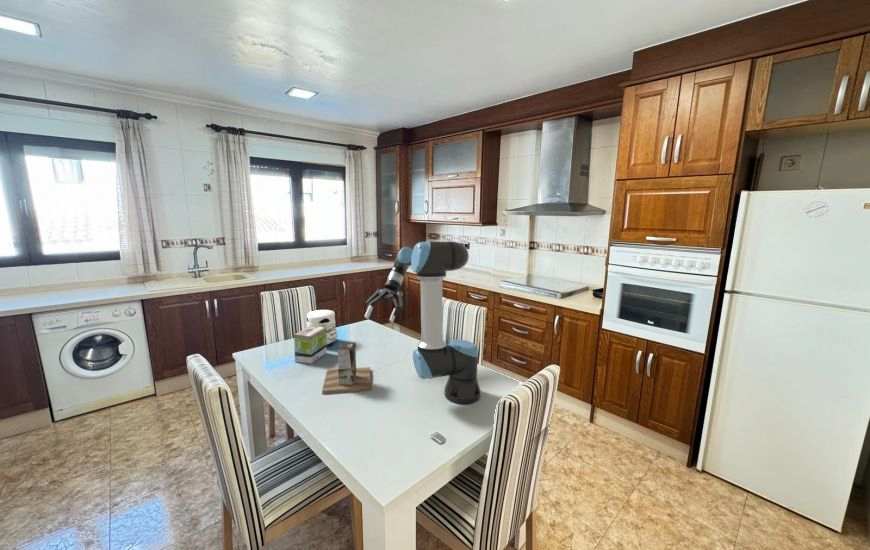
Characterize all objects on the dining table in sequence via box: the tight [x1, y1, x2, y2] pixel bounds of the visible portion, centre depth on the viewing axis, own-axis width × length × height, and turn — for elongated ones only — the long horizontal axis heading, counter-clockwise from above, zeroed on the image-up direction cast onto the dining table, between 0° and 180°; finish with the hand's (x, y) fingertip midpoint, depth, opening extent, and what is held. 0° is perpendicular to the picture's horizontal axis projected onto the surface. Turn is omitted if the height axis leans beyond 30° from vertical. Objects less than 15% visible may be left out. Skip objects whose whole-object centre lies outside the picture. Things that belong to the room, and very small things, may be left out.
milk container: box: [306, 309, 338, 347], centre depth 203 cm, size 17×17×18 cm
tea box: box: [293, 326, 328, 364], centre depth 183 cm, size 15×10×15 cm, turn 168°
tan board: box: [321, 366, 372, 395], centre depth 159 cm, size 20×20×2 cm
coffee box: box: [337, 341, 357, 385], centre depth 156 cm, size 9×6×16 cm
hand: (378, 319), depth 166 cm, fingers open, 13 cm apart
